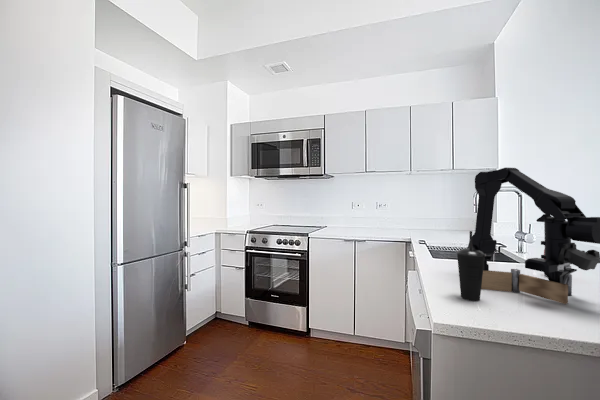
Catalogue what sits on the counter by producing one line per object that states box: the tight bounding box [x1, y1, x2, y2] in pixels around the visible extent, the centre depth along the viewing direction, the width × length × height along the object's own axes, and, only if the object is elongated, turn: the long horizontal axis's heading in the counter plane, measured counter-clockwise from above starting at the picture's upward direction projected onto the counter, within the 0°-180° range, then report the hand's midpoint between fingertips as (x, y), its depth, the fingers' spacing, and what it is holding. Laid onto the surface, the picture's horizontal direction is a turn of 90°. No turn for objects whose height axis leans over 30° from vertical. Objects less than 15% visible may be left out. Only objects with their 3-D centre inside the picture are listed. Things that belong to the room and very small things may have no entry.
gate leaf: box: [519, 273, 569, 305], centre depth 85 cm, size 12×1×5 cm, turn 20°
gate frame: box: [481, 268, 573, 297], centre depth 92 cm, size 26×4×7 cm, turn 70°
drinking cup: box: [455, 230, 486, 302], centre depth 85 cm, size 8×8×20 cm
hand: (558, 292), depth 83 cm, fingers closed
